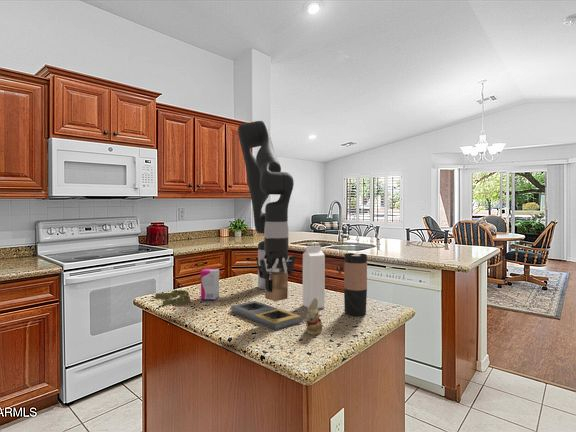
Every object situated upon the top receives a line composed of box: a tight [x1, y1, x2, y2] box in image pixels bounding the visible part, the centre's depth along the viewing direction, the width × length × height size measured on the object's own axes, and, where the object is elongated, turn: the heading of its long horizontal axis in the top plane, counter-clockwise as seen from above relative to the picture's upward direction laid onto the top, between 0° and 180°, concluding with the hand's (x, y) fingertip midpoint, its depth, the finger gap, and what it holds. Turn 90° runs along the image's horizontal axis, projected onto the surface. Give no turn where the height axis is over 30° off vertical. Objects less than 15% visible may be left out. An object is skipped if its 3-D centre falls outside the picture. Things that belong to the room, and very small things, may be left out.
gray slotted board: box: [230, 300, 301, 331], centre depth 115 cm, size 10×24×2 cm, turn 41°
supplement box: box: [200, 268, 220, 302], centre depth 138 cm, size 6×6×12 cm
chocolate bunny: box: [305, 298, 323, 336], centre depth 102 cm, size 6×8×10 cm
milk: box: [302, 245, 326, 309], centre depth 127 cm, size 6×6×22 cm
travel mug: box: [343, 252, 368, 317], centre depth 120 cm, size 8×8×20 cm
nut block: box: [264, 271, 289, 302], centre depth 110 cm, size 5×5×8 cm
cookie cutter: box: [154, 289, 191, 307], centre depth 137 cm, size 18×12×2 cm, turn 32°
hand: (276, 290), depth 110 cm, fingers closed on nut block, 5 cm apart
